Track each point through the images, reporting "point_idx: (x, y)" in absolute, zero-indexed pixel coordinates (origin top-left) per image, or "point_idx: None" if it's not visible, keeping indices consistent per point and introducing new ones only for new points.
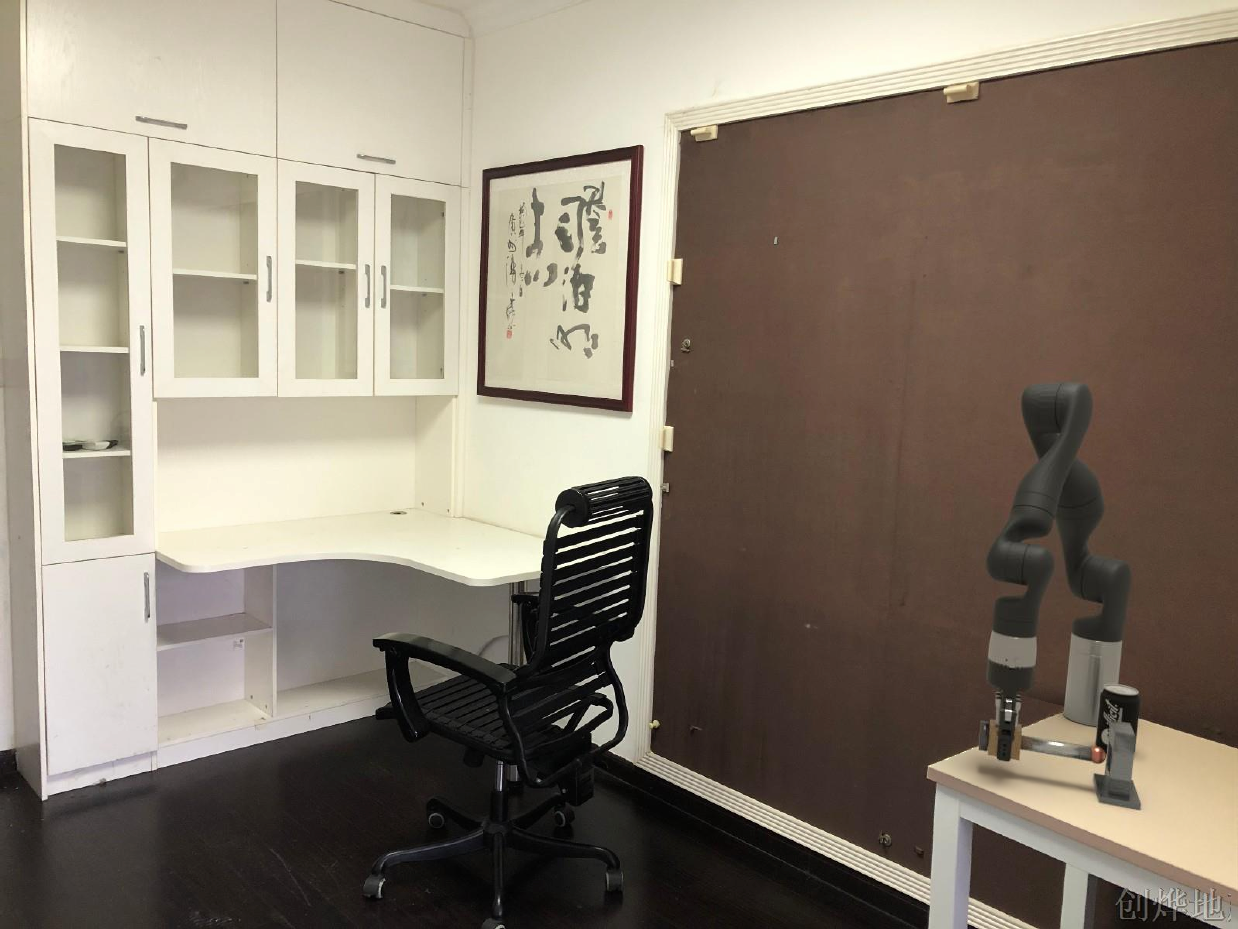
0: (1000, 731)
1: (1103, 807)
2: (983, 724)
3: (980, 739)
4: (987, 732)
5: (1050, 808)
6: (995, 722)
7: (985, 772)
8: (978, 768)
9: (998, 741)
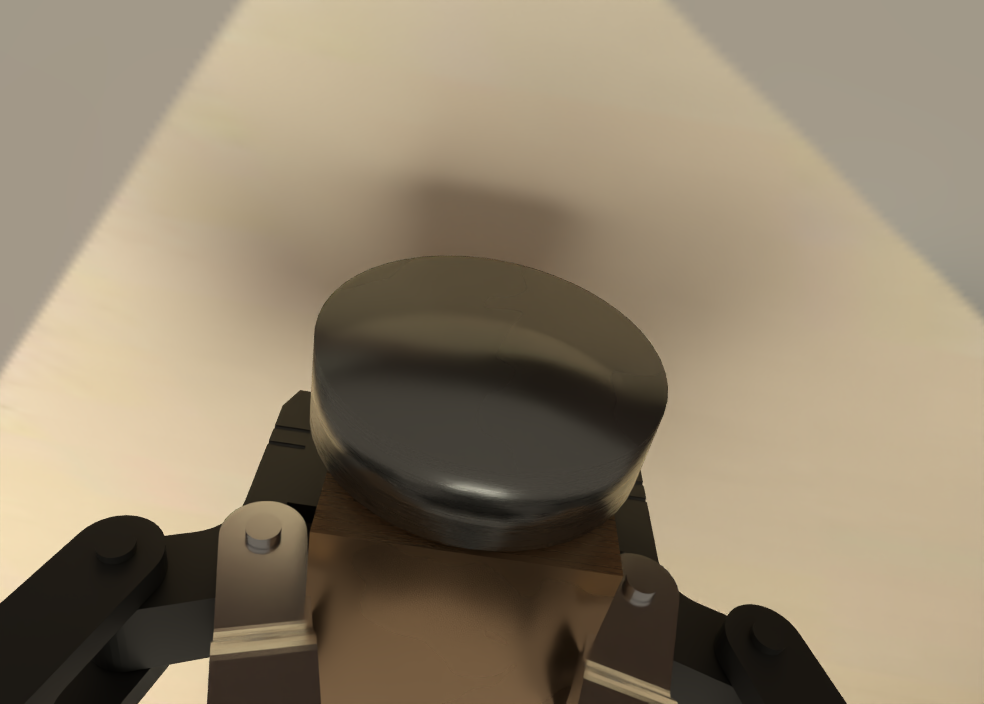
0: (2, 617)
1: (206, 659)
2: (405, 474)
3: (316, 329)
4: (323, 451)
5: (34, 477)
6: (507, 603)
7: (448, 231)
8: (516, 193)
9: (292, 485)
